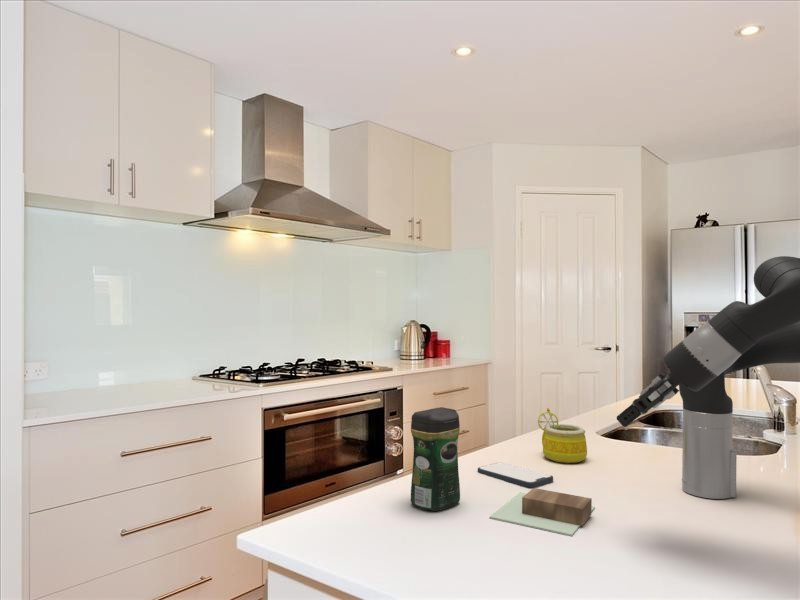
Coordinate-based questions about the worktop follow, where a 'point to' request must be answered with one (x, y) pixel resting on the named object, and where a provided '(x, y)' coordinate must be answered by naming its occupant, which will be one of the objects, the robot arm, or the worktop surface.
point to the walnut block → (557, 506)
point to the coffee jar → (435, 459)
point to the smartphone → (516, 475)
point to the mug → (563, 441)
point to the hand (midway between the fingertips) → (620, 422)
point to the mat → (531, 518)
